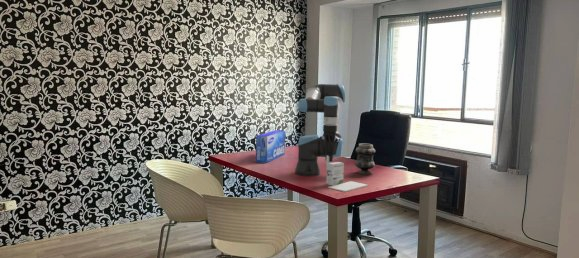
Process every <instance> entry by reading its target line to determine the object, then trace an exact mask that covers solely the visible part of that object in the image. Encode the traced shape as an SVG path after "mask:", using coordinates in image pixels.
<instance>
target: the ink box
mask: <svg viewBox="0 0 579 258" xmlns="http://www.w3.org/2000/svg"><path fill="white" fill-rule="evenodd" d="M344 169H345V163H344V162H340V161H334V162H332V163H327V167H326V185H328V186H334V185H338V184H342V183H344V172H345V170H344Z"/></svg>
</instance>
